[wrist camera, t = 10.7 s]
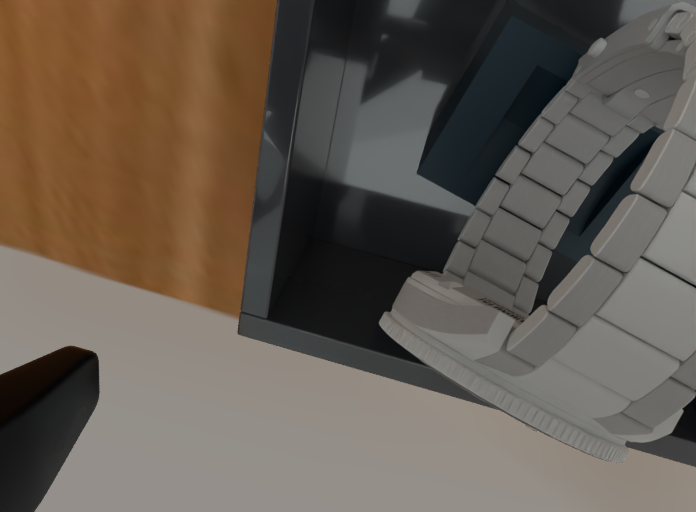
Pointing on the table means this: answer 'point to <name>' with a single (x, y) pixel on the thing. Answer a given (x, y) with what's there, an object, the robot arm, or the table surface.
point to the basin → (378, 176)
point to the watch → (568, 230)
